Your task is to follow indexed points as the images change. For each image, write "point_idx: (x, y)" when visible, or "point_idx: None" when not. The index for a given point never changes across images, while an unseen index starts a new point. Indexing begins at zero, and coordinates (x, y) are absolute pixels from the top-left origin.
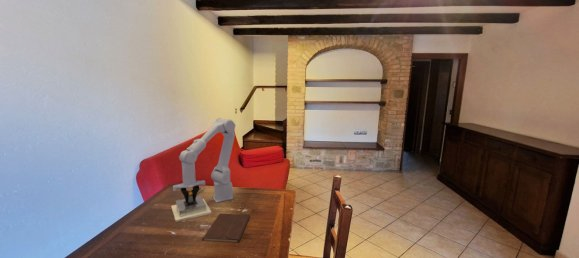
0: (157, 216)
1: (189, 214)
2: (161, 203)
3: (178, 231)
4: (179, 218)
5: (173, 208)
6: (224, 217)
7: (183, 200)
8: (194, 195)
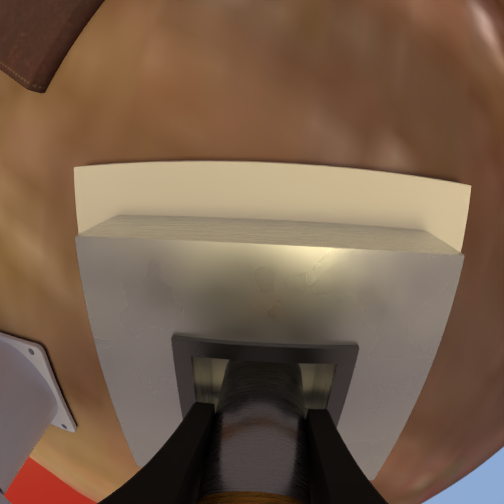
0: (499, 360)
1: (320, 223)
2: (396, 487)
3: (453, 9)
4: (435, 198)
5: None
6: (29, 5)
7: None
8: (181, 474)
